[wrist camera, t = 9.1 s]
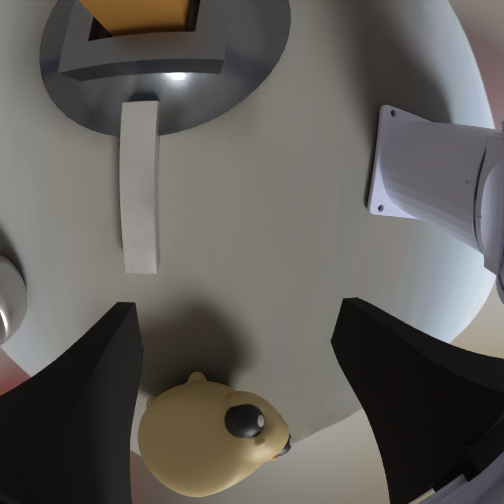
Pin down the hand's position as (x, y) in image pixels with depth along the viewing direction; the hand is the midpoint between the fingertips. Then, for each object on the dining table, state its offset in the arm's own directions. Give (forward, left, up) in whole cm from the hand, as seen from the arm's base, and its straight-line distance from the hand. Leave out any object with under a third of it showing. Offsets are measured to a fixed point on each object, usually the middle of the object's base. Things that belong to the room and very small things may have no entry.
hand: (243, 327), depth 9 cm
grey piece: (+5, -10, -9) cm, 15 cm away
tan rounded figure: (+1, +15, -10) cm, 18 cm away
